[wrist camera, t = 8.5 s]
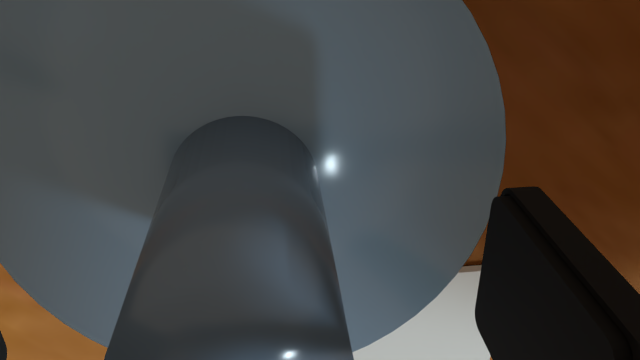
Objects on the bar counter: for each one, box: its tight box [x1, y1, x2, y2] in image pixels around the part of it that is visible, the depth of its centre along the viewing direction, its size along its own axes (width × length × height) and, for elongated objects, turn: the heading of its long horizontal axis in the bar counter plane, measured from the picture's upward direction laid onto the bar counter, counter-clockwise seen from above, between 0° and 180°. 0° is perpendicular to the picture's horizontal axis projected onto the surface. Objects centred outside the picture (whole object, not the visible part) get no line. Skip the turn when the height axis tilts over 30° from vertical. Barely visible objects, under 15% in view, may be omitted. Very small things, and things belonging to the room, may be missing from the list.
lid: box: [0, 0, 506, 360], centre depth 11 cm, size 13×13×7 cm
